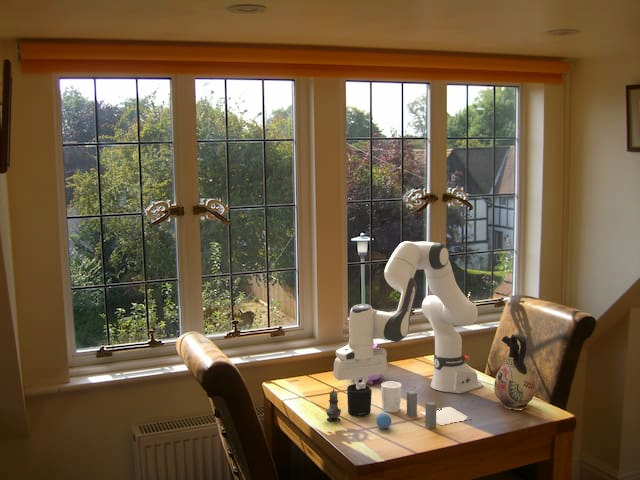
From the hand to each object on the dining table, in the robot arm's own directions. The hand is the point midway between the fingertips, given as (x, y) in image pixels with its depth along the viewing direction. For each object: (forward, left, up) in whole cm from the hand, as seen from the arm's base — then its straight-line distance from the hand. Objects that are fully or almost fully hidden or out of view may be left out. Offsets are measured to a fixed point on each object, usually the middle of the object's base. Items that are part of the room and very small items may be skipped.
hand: (360, 388), depth 246 cm
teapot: (-31, -51, -17) cm, 62 cm away
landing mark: (-37, 0, -16) cm, 40 cm away
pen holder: (-9, -17, -17) cm, 25 cm away
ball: (-10, 0, -14) cm, 17 cm away
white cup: (-22, -15, -17) cm, 31 cm away
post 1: (-26, -6, -16) cm, 31 cm away
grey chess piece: (+3, -15, -17) cm, 23 cm away
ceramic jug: (-67, +4, -17) cm, 69 cm away
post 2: (-26, +6, -16) cm, 31 cm away
